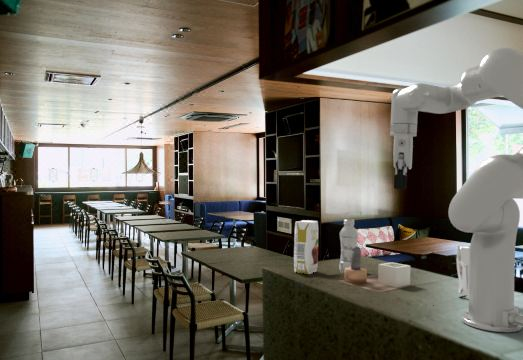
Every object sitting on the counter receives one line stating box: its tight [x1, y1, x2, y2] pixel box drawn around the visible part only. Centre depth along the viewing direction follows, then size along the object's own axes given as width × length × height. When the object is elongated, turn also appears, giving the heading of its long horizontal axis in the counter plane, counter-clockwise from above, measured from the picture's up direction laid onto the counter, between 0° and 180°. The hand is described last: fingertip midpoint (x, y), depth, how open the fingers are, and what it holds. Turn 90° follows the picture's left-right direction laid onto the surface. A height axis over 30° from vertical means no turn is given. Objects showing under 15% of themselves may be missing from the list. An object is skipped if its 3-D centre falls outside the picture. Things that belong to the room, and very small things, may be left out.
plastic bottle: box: [338, 219, 359, 274], centre depth 158 cm, size 6×7×20 cm
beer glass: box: [455, 245, 470, 301], centre depth 128 cm, size 7×7×15 cm
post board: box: [337, 245, 415, 293], centre depth 138 cm, size 17×18×13 cm
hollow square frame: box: [377, 261, 411, 287], centre depth 137 cm, size 7×7×6 cm
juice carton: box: [293, 219, 319, 275], centre depth 160 cm, size 8×9×19 cm
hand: (400, 188), depth 128 cm, fingers open, 9 cm apart
